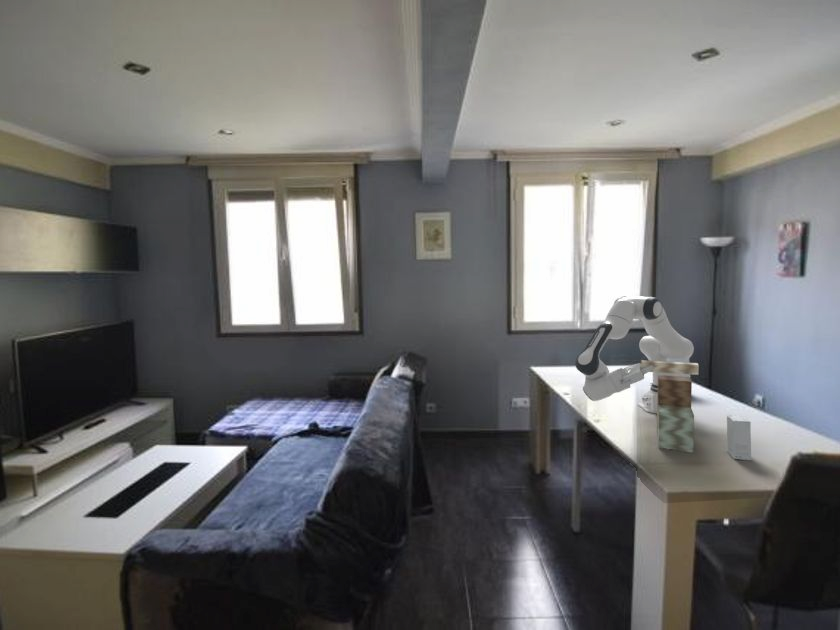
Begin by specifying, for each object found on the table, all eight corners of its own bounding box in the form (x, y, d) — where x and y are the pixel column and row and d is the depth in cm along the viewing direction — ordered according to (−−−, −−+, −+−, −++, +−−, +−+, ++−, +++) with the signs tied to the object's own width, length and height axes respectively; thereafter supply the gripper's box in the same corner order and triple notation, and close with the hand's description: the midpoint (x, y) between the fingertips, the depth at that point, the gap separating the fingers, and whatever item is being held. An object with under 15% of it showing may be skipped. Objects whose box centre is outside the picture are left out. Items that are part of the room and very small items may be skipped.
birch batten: (641, 371, 180) (641, 361, 180) (641, 369, 183) (641, 360, 183) (698, 374, 171) (698, 364, 171) (697, 372, 174) (697, 363, 174)
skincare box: (751, 461, 161) (752, 422, 160) (732, 459, 164) (733, 420, 163) (743, 452, 169) (745, 415, 168) (725, 451, 171) (726, 414, 170)
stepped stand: (658, 448, 176) (659, 385, 174) (656, 432, 194) (657, 375, 192) (693, 452, 171) (694, 387, 169) (688, 436, 188) (689, 377, 186)
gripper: (615, 377, 177) (649, 362, 171) (618, 368, 195) (648, 354, 189) (624, 391, 176) (658, 377, 170) (625, 381, 194) (656, 367, 188)
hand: (653, 365), depth 180 cm, fingers closed on birch batten, 4 cm apart
